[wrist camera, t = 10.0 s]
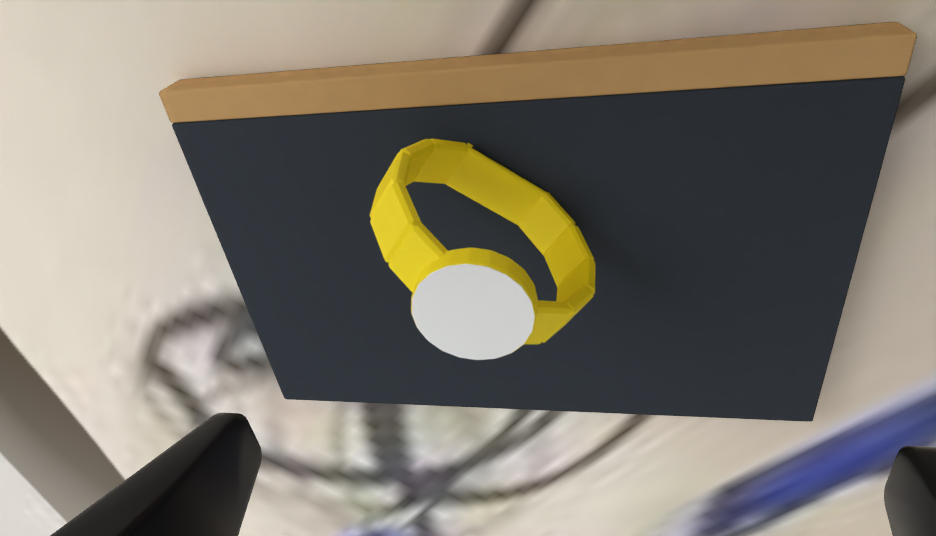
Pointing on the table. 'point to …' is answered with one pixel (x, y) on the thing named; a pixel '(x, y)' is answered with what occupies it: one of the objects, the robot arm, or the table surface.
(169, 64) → the table surface
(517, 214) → the watch
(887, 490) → the robot arm
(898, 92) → the dark rectangular board
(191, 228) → the table surface
